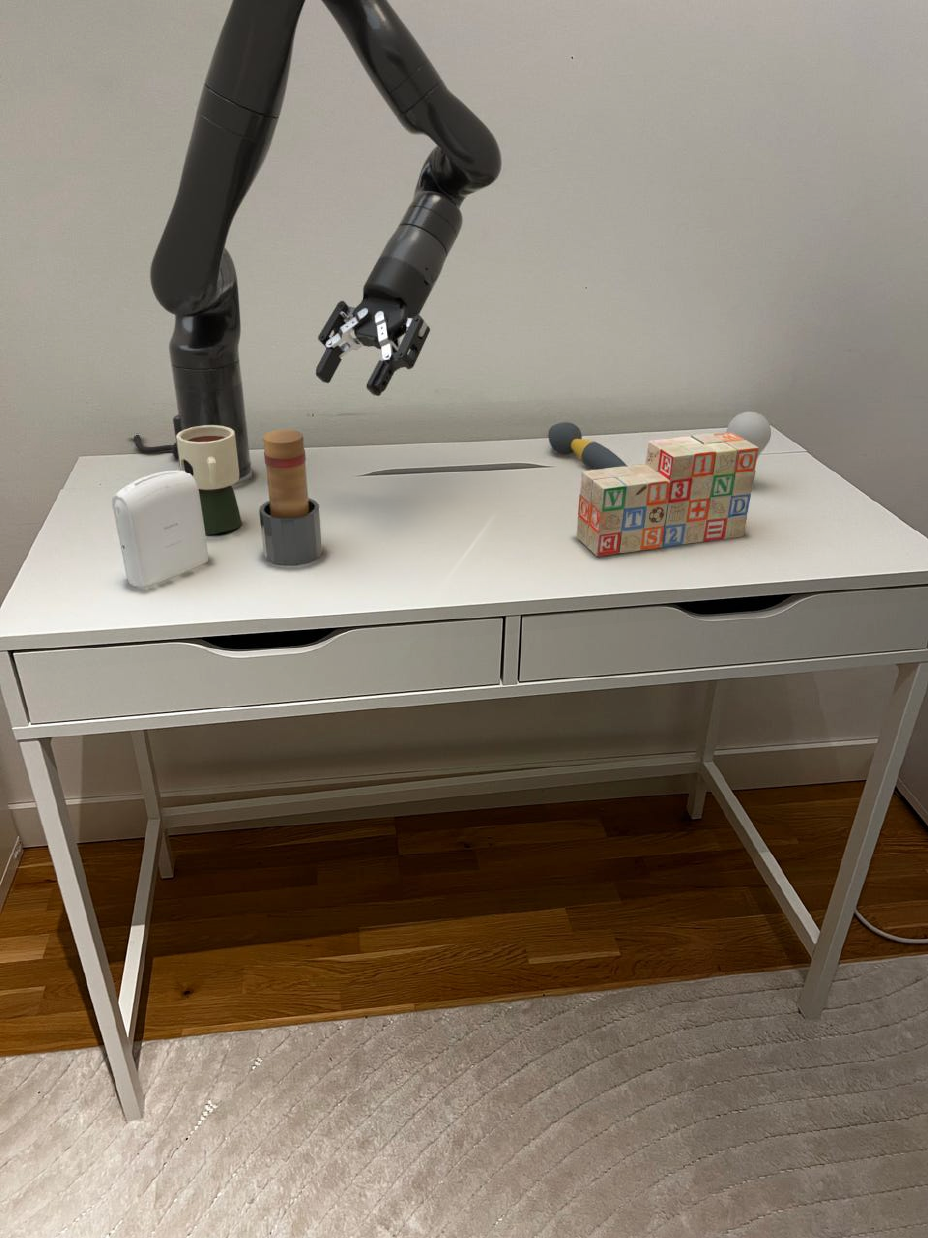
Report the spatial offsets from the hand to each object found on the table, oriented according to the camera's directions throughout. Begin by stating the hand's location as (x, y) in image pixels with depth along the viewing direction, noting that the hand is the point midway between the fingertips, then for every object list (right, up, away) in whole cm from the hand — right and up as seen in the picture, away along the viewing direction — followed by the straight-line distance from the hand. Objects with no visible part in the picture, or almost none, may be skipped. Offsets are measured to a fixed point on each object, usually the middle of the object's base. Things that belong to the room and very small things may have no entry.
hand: (346, 385), depth 118 cm
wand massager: (+33, -5, +31) cm, 46 cm away
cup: (-7, -21, +2) cm, 22 cm away
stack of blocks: (+40, -18, +8) cm, 44 cm away
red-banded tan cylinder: (-7, -20, +2) cm, 21 cm away
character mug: (-18, -17, +9) cm, 26 cm away
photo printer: (-21, -23, -2) cm, 31 cm away
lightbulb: (+55, -9, +23) cm, 60 cm away
